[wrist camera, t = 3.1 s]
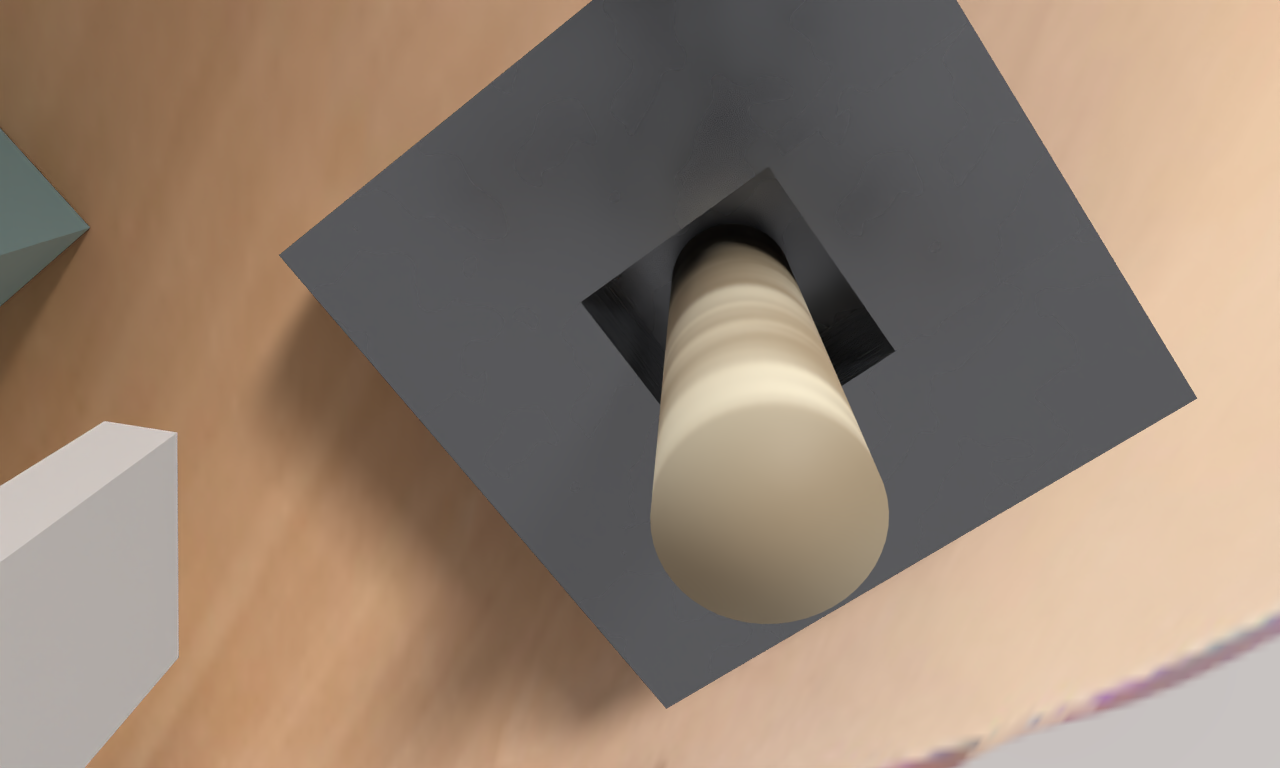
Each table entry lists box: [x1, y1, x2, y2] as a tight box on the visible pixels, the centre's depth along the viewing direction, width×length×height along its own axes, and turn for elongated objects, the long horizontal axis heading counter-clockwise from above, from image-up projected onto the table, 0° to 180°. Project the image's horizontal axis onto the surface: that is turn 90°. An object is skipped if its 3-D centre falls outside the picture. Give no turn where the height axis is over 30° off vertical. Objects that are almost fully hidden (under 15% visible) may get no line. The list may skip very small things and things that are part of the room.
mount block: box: [279, 0, 1197, 709], centre depth 23 cm, size 14×14×5 cm
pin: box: [650, 224, 889, 624], centre depth 19 cm, size 3×3×13 cm
